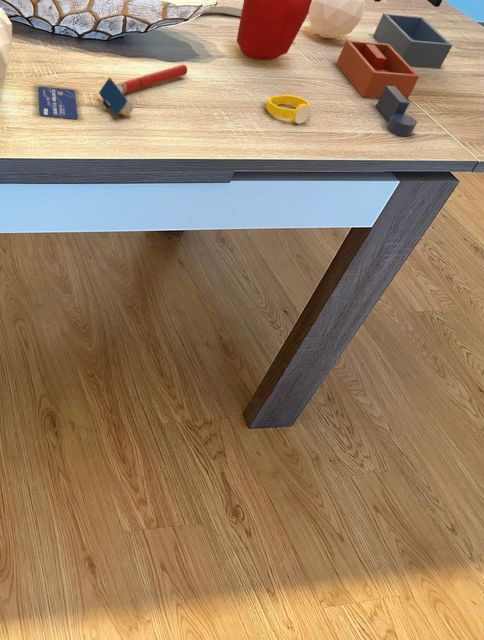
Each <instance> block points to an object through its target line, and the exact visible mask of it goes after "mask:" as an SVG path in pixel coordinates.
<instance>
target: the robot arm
mask: <svg viewBox="0 0 484 640" xmlns="http://www.w3.org/2000/svg"><path fill="white" fill-rule="evenodd" d="M373 1H374V2H376V3H380V2H381V1H382V0H373ZM426 1H427V2H428V3H430V4H431V5H432V6H433V7H435V8H439V7H440V6H441V4H442V3H443V2H442V1H443V0H426Z"/></svg>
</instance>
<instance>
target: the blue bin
mask: <svg viewBox="0 0 484 640" xmlns="http://www.w3.org/2000/svg"><path fill="white" fill-rule="evenodd" d="M372 36H373V38H374V39H376V41H377V43H385V44H390V45H391V46H392V47H393V49H394V50H395V51H396V52H397V53H398V54H399V55H400V56H401V57H402V58H403V59H404V60H405V61H406V62H407V64H408V65H409V66H410V67H411V66H412V67H421V68H422V67H423V68H436V69H440V68H441V67H442V66H443V64H444V62H445V60H446V58H447V57H448V55H449V53H450V51H451V49H452V47H453V44H452V43H451V42H450V41H449V40H447V38H446V37H444V36H443V35H442V34H441V32H440V31H438V30H437V29H436V28H435V27H434V26H433V25H432V24H431V23H430V22H429V21H428V20H426V19H425V18H424V17H423V16H415V15H406V14H405V15H404V14H397V13H396V14H395V13H382V16H381V17H380V20H379V22H378V24H377V26H376V28H375V31H374V32H373V35H372Z"/></svg>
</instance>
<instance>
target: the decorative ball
mask: <svg viewBox="0 0 484 640" xmlns="http://www.w3.org/2000/svg"><path fill="white" fill-rule="evenodd" d="M365 4H366V3H365V0H312V2H311V5H310V9H309V12H308V15H307V16H308V20H309V24H310V27H311V29H312V30H313V31H314V32H315V33H317V34H318V35H319V36H320V37H321V38H328V39H329V38H330V39H331V38H332V39H335V38H338V37H342V36H346V35H349V34H351V33H352V31H353V30H354V29H355V28H356V27H357V26H358V24H359V23H360V22H361V20H362V18H363V16H364V13H365V10H366V5H365Z"/></svg>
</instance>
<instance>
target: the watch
mask: <svg viewBox="0 0 484 640" xmlns="http://www.w3.org/2000/svg"><path fill="white" fill-rule="evenodd" d="M280 105H287V106H293V107H296V108H286V107H282V106H280ZM265 109H266V111H267V112H268V114H271V115H272V116H275V117H277V118H281V119H286V120H292V121H293V123H296V124H298V125H299V124H303V123H304V122H306V121H307V119H308V118H309V116H310V114H311V104H310V102H309V101H308V100H307V99H305V98H303V97H299V96H296V95H292V94H285V93H284V94H282V95H275V96H270V97H269V98H268V100H267V104H266V108H265Z"/></svg>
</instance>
